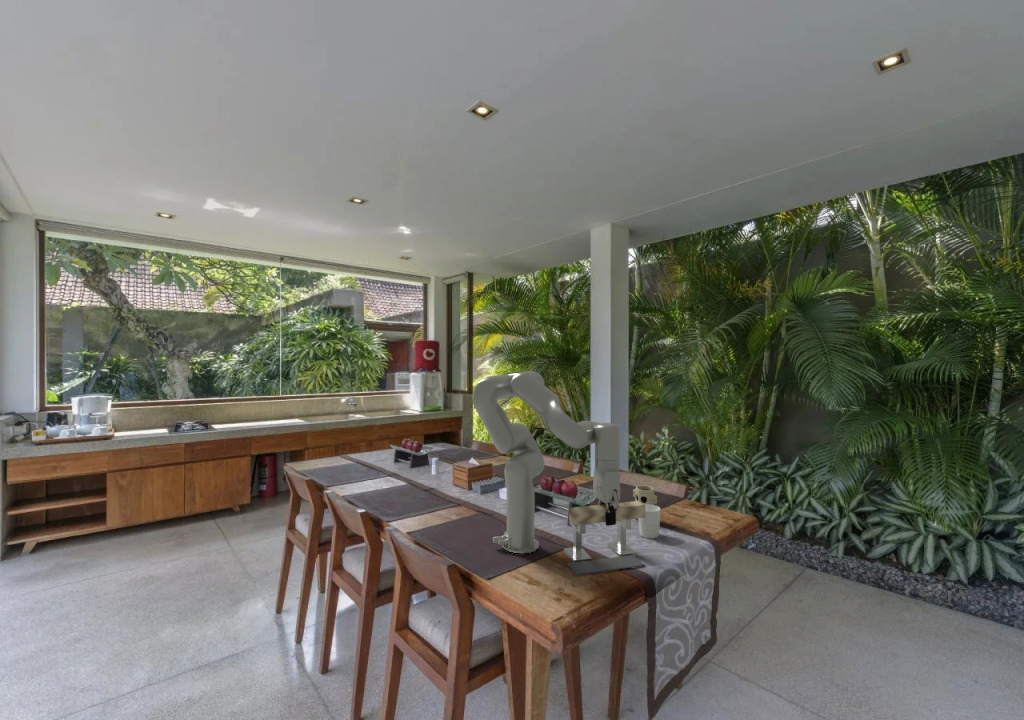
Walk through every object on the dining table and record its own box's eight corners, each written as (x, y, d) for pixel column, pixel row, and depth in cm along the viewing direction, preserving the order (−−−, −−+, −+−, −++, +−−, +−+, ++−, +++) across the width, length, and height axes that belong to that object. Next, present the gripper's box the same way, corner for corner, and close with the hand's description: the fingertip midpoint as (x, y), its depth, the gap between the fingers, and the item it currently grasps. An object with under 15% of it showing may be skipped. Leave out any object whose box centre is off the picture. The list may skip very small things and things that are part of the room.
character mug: (627, 518, 186) (627, 486, 185) (638, 514, 190) (638, 482, 190) (650, 526, 177) (651, 493, 177) (661, 522, 182) (662, 489, 181)
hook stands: (574, 563, 147) (574, 524, 147) (563, 551, 156) (563, 514, 155) (636, 555, 153) (637, 517, 152) (623, 544, 162) (623, 508, 161)
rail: (573, 525, 140) (573, 512, 140) (568, 520, 144) (568, 508, 144) (645, 517, 146) (645, 504, 146) (638, 513, 150) (638, 500, 150)
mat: (576, 575, 139) (576, 573, 139) (567, 565, 146) (567, 563, 146) (644, 566, 145) (644, 564, 145) (633, 556, 152) (633, 554, 152)
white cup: (648, 541, 164) (648, 512, 164) (633, 533, 171) (633, 506, 171) (664, 536, 168) (665, 509, 168) (649, 529, 175) (649, 502, 175)
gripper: (584, 458, 152) (585, 514, 152) (608, 471, 136) (608, 533, 136) (605, 456, 154) (606, 511, 154) (631, 469, 138) (631, 530, 138)
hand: (607, 521), depth 145 cm, fingers closed on rail, 4 cm apart
